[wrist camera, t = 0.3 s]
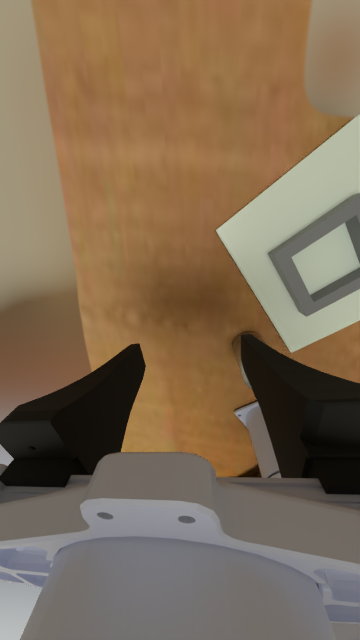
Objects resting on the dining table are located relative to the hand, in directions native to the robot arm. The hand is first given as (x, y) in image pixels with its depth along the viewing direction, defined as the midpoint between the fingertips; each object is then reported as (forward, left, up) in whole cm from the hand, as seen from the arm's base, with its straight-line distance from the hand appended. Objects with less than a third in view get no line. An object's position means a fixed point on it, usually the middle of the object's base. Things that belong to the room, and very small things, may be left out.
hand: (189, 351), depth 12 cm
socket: (-4, -14, -10) cm, 17 cm away
